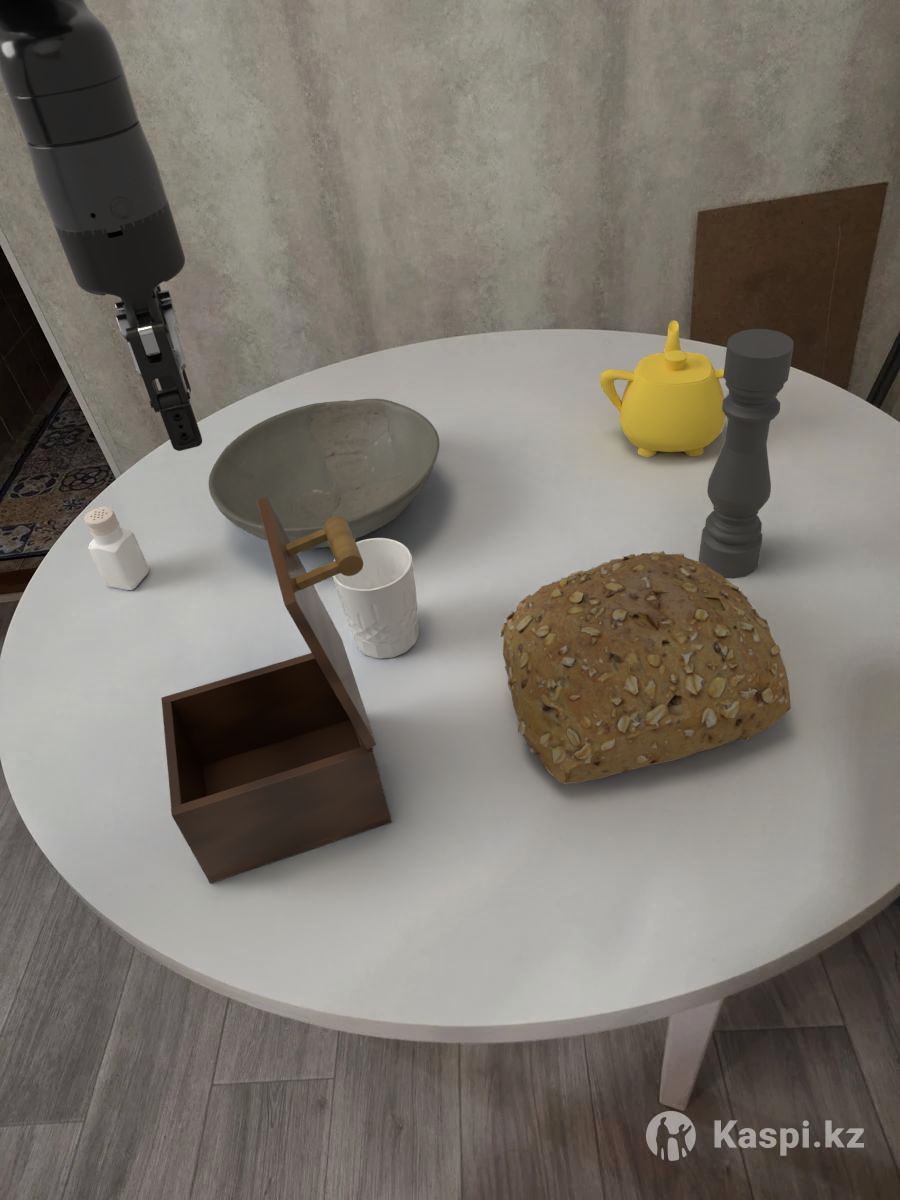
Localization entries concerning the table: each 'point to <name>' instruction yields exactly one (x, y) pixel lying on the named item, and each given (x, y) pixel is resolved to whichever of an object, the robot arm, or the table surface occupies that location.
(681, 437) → the teapot
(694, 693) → the bread
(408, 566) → the white cup
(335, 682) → the lid
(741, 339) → the candle holder
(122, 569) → the pepper shaker
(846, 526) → the table surface
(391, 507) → the bowl
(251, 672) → the compartment
